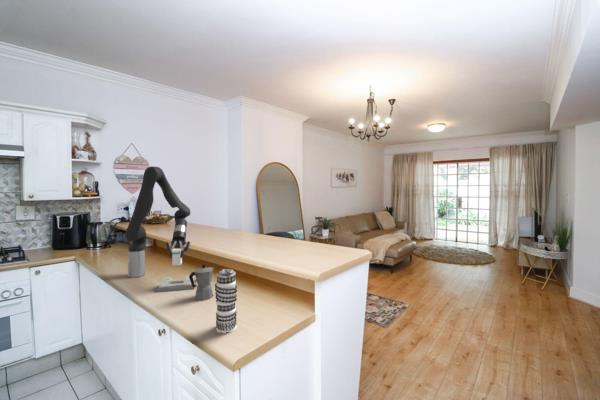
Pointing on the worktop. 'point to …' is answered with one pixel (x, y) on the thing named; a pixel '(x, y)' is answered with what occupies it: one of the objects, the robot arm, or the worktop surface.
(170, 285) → the rail panel
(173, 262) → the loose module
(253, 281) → the worktop surface
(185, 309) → the worktop surface
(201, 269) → the coffeepot
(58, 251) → the worktop surface
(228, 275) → the black and white cylinder
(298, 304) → the worktop surface
